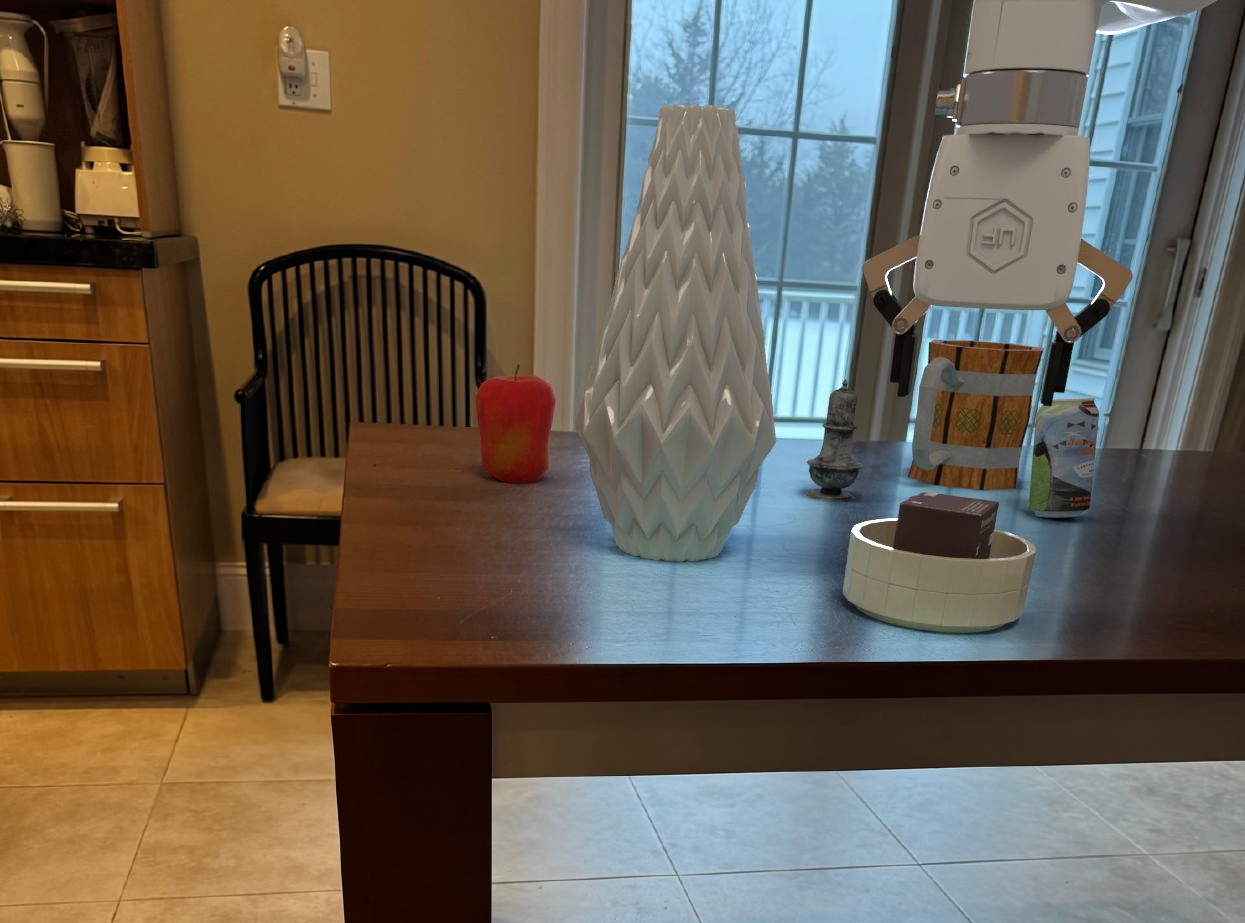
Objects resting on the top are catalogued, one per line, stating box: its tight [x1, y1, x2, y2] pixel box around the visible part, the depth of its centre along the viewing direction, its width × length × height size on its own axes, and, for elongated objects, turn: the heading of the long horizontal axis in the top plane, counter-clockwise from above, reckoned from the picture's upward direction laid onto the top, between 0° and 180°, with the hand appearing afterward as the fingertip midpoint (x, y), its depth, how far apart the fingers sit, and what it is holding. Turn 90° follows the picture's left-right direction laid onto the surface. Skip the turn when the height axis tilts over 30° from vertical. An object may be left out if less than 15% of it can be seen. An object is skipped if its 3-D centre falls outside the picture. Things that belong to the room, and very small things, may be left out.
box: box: [893, 491, 1000, 559], centre depth 87 cm, size 6×6×7 cm
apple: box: [474, 363, 557, 484], centre depth 124 cm, size 9×8×12 cm
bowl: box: [842, 518, 1037, 634], centre depth 87 cm, size 13×13×6 cm
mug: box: [907, 339, 1045, 491], centre depth 135 cm, size 20×14×15 cm
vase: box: [574, 103, 777, 563], centre depth 94 cm, size 17×17×33 cm
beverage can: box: [1028, 397, 1100, 518], centre depth 120 cm, size 6×7×12 cm
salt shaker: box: [805, 378, 863, 502], centre depth 124 cm, size 6×6×12 cm
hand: (973, 399), depth 82 cm, fingers open, 9 cm apart
